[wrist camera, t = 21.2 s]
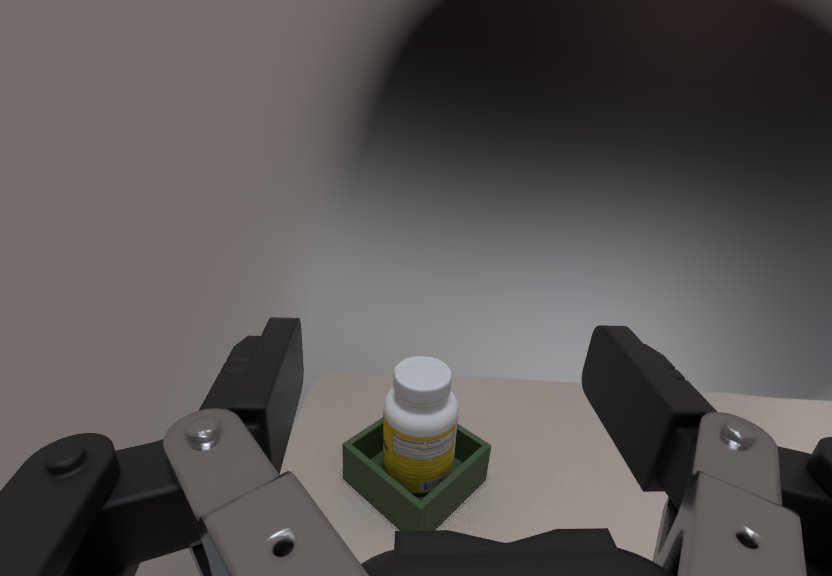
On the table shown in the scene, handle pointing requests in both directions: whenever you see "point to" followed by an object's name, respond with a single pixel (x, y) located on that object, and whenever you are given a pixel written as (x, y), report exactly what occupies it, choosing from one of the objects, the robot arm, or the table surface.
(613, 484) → the table surface
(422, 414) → the supplement bottle
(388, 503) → the basket
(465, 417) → the table surface
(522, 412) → the table surface
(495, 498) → the table surface
